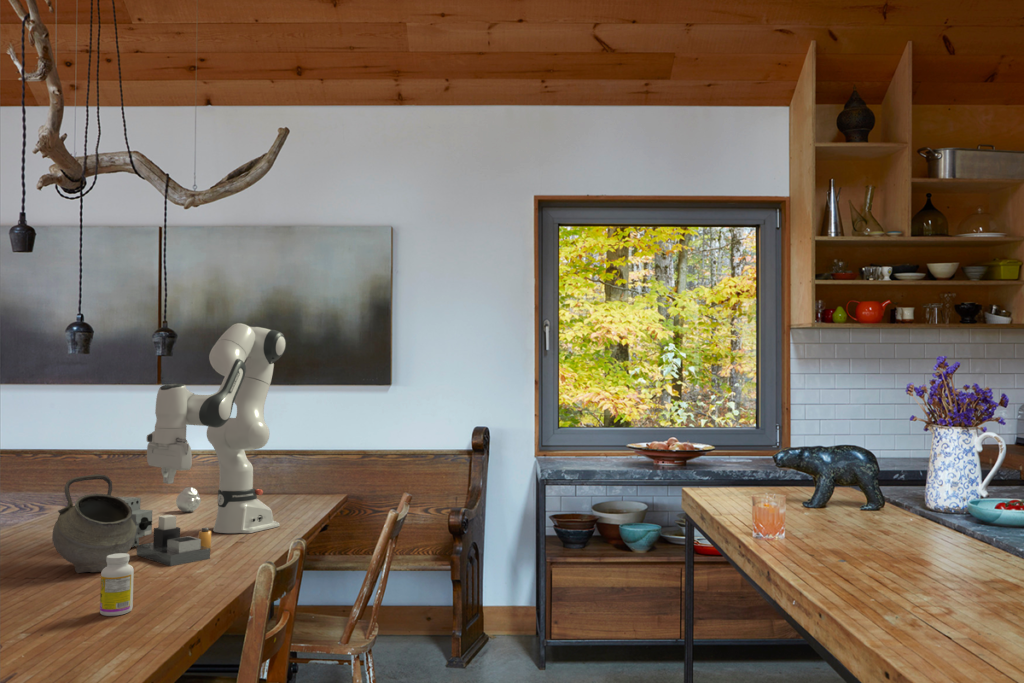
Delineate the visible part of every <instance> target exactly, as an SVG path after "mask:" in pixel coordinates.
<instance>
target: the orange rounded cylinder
mask: <svg viewBox="0 0 1024 683" xmlns="http://www.w3.org/2000/svg"><path fill="white" fill-rule="evenodd" d="M209 529H210V527H202V528H201V530H199V531H198V539H201V546H204V547H207V548H210V552H211V550H212V530H209Z"/></svg>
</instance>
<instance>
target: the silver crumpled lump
mask: <svg viewBox="0 0 1024 683" xmlns="http://www.w3.org/2000/svg"><path fill="white" fill-rule="evenodd" d="M175 501H176V502H175V504H176V507H177V508H178V509H179V510H180V512H184V513H192V512H194V511H196V510H197V509H198V508H199V506H200V504H201V503H202V499H201V495H200V494H199V491H198V490H197V489H196V488H195V487H193V486H188V487H185V488H184V489H183V490H182V491H181V492H179V494H178V495H177V497H176V500H175Z"/></svg>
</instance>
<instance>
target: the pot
mask: <svg viewBox="0 0 1024 683" xmlns="http://www.w3.org/2000/svg"><path fill="white" fill-rule="evenodd" d="M93 480H102V481H105V482H106V483H107V486H108V489H107V493H91V494H85V495H82V496H81V497H79V498H77V500H75V503H74V502H73V500H72V496H71V492H70V486H71V485H72V484H74V483H78V482H84V481H93ZM112 491H113V481H112V480H111V478H110V477H109V476H107V475H106V474H105V475H104V474H101V473H100V474H90V475H89V474H88V475H81V476H77V477H73V478H71V479H69V480H67V482H66V483H65V485H64V495H65V499H66V501H67V506H65V507H63V508H62V509H61V508H60V509H58V510H57V512H58V513H59V515H58V518H57V520H56V521H55V524H54V526H53V528H52V538H51V539H52V544H53V546H54V548H55V551H57V553H58V554H59V555H60V557H61V558H63V559H64V560H65V561H67V562H69V563H70V564H72V565H73V566H74V571H75V572H76V573H77V574H80V573H88V572H90V573H98V572H102V570H103V569H104V568H105V567H107V562H106V557H107V556H108V555H111V554H118V553H127V554H128V553H129V552H130V550H131V547H132V545H133V543H134V539H135V533H136V525H135V523H134V522H133V520H132V519H131V518H130V517H131V515H132V509H131V507H130V506H129V505H128V504H127V503H126V502H125V501H124V500H122V499H120V498H118V497H119V496H113V495H112ZM73 503H74V504H73ZM132 548H133V547H132Z"/></svg>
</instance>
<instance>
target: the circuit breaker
mask: <svg viewBox="0 0 1024 683" xmlns="http://www.w3.org/2000/svg"><path fill="white" fill-rule="evenodd" d="M117 497H118V498H120V499H122V500H124V501H125V502H126V503H127V504H128V505H129V506H130V507H131V509H132V515H131V517H130V518H131V519H132V520H133V522H134V523H135V525H136V533H135V539H134V543H133V545H132V548H135V547H137V545H140V538H143V537H146V536H150V535H152V531H153V510H152V509H141V499H142V498H141V497H137V496H136V497H134V496H117ZM134 546H135V547H134Z"/></svg>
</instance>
